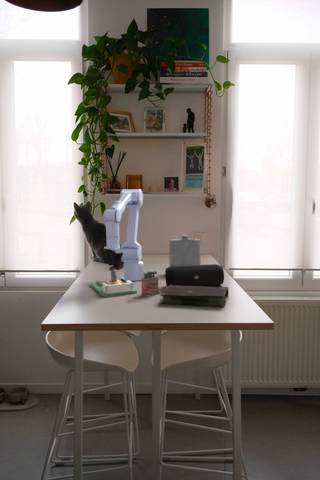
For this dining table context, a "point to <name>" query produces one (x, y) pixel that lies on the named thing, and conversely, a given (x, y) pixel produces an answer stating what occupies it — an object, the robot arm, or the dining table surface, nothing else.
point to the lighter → (150, 284)
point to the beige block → (113, 278)
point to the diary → (195, 296)
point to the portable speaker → (195, 275)
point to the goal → (117, 287)
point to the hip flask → (184, 251)
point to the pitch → (98, 288)
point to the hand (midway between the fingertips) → (113, 266)
